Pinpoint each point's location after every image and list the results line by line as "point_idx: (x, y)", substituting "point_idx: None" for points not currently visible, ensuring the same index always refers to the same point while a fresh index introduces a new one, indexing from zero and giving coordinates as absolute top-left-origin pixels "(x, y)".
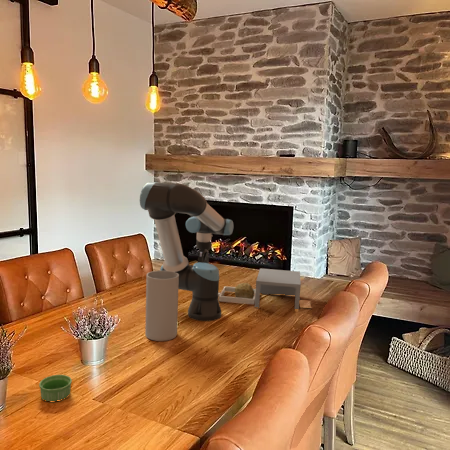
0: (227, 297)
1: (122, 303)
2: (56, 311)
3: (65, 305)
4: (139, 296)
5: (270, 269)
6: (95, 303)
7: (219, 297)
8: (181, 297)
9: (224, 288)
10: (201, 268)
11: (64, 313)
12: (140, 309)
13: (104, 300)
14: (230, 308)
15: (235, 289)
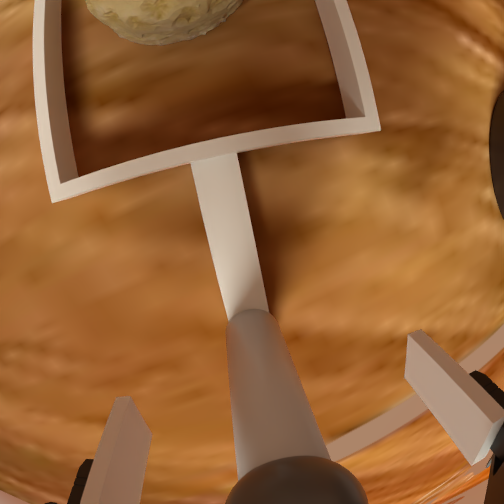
0: (363, 55)
1: (450, 460)
2: (486, 475)
3: (458, 493)
4: (381, 483)
5: None
6: (449, 484)
7: (374, 125)
8: (353, 391)
9: (110, 168)
10: None
11: None
12: None
13: (428, 492)
14: (422, 39)
15: (210, 1)
